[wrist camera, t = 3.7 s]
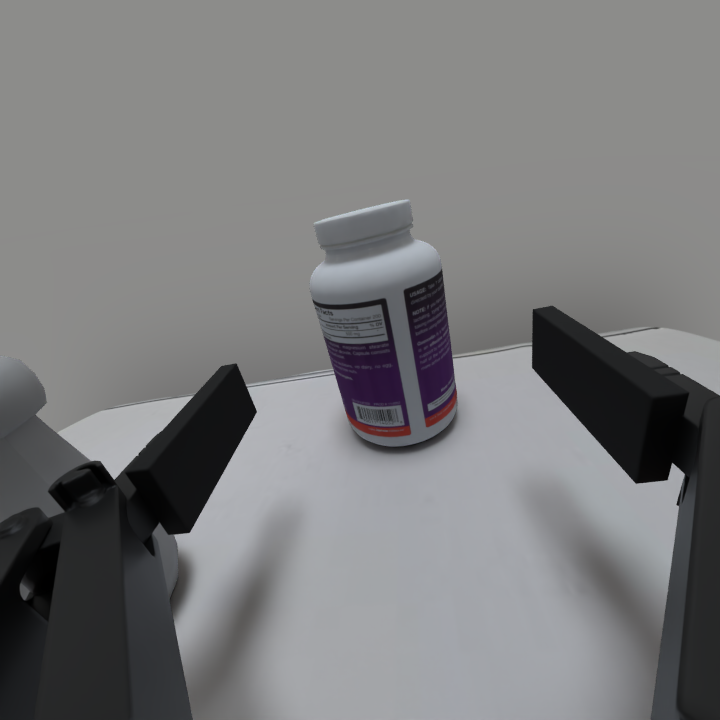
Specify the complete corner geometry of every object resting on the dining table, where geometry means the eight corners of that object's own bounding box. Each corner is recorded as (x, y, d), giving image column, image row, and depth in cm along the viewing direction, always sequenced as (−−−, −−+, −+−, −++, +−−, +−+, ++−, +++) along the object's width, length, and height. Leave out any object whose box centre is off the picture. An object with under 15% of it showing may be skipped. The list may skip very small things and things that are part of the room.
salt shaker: (211, 596, 16) (38, 350, 10) (66, 725, 12) (-303, 468, 7) (175, 529, 20) (39, 329, 14) (59, 613, 17) (-175, 396, 11)
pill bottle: (430, 377, 29) (404, 197, 23) (481, 430, 22) (463, 187, 16) (341, 405, 28) (289, 226, 22) (363, 470, 21) (295, 229, 15)
